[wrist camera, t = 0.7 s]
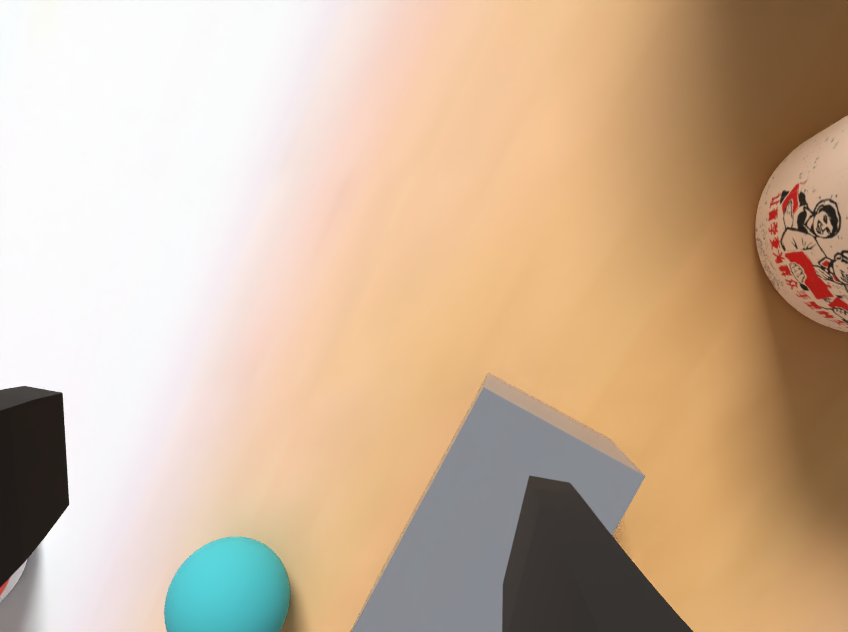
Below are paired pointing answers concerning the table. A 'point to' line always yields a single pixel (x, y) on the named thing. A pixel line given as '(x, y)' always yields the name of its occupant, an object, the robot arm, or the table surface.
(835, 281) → the teacup with lid
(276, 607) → the ball
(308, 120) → the table surface
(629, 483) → the grey block
